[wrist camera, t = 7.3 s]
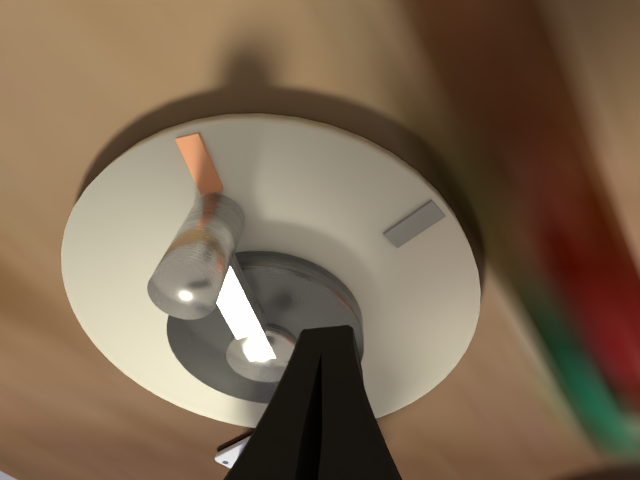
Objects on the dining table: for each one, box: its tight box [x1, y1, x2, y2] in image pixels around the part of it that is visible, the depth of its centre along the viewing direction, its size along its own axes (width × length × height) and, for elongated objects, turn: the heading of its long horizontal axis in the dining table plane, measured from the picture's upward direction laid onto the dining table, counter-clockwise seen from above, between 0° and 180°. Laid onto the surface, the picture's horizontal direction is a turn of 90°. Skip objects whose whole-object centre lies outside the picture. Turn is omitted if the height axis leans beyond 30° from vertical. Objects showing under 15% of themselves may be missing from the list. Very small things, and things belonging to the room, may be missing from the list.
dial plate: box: [61, 113, 481, 428], centre depth 23 cm, size 22×22×1 cm
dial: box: [147, 194, 364, 404], centre depth 19 cm, size 13×10×5 cm
